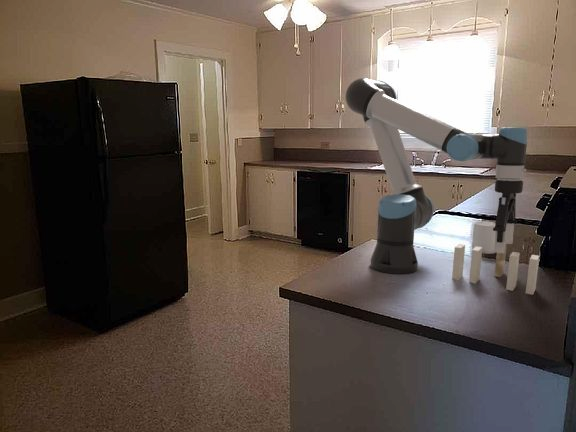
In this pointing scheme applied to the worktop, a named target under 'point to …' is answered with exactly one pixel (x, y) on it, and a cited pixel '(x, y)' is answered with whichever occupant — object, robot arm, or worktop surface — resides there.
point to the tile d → (532, 274)
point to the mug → (484, 236)
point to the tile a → (458, 261)
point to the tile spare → (500, 263)
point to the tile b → (475, 264)
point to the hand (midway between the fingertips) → (503, 247)
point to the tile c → (512, 271)
